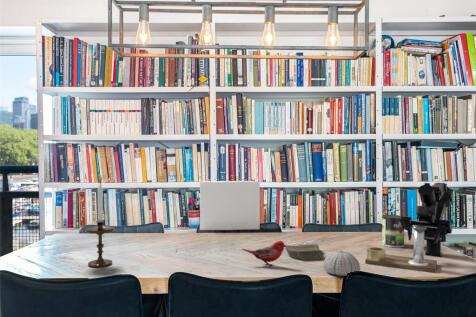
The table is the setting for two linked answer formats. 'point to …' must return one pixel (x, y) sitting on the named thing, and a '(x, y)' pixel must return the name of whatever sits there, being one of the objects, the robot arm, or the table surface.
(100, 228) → the candlestick
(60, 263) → the table surface
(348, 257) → the sea urchin shell
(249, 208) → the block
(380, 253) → the brass collar
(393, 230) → the coffee can
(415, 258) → the silver flared column
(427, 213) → the robot arm
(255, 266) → the table surface
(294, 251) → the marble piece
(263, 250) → the decorative bird figurine
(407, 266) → the walnut board
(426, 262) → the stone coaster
